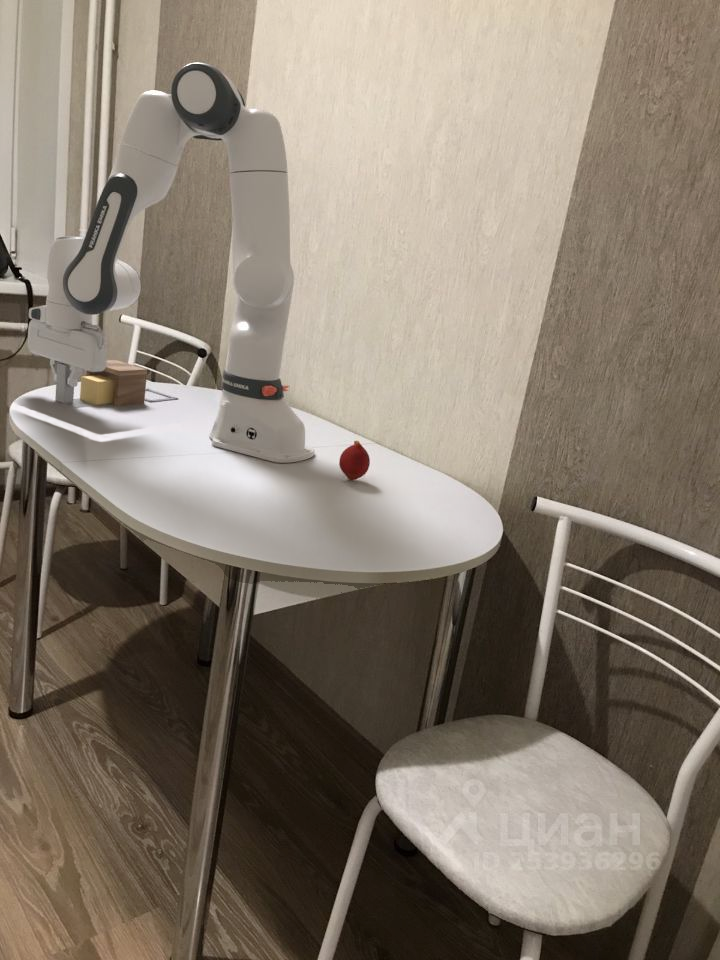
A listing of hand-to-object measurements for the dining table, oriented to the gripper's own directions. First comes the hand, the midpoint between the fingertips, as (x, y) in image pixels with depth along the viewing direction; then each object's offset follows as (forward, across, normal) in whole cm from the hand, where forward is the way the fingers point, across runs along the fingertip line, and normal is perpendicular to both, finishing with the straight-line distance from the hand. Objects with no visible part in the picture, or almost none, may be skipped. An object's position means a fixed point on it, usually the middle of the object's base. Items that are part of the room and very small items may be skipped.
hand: (65, 383), depth 155 cm
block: (+4, -2, -7) cm, 8 cm away
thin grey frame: (+5, -2, -22) cm, 23 cm away
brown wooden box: (+5, -2, -12) cm, 13 cm away
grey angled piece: (+5, -2, -6) cm, 8 cm away
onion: (+6, -63, -15) cm, 65 cm away
